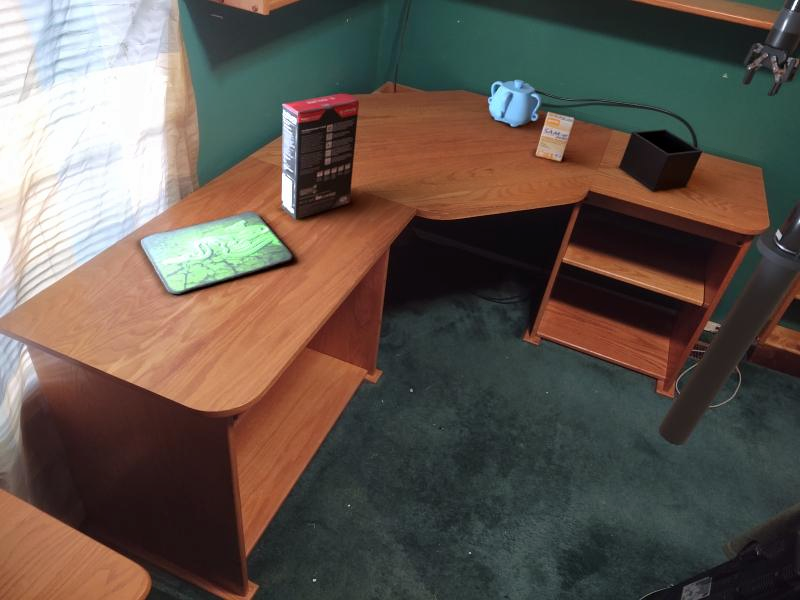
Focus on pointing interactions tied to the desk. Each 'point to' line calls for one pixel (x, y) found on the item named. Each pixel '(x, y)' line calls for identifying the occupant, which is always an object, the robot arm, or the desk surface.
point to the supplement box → (554, 136)
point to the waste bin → (659, 159)
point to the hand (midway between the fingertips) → (758, 89)
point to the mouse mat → (213, 251)
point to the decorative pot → (514, 102)
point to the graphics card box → (318, 153)
